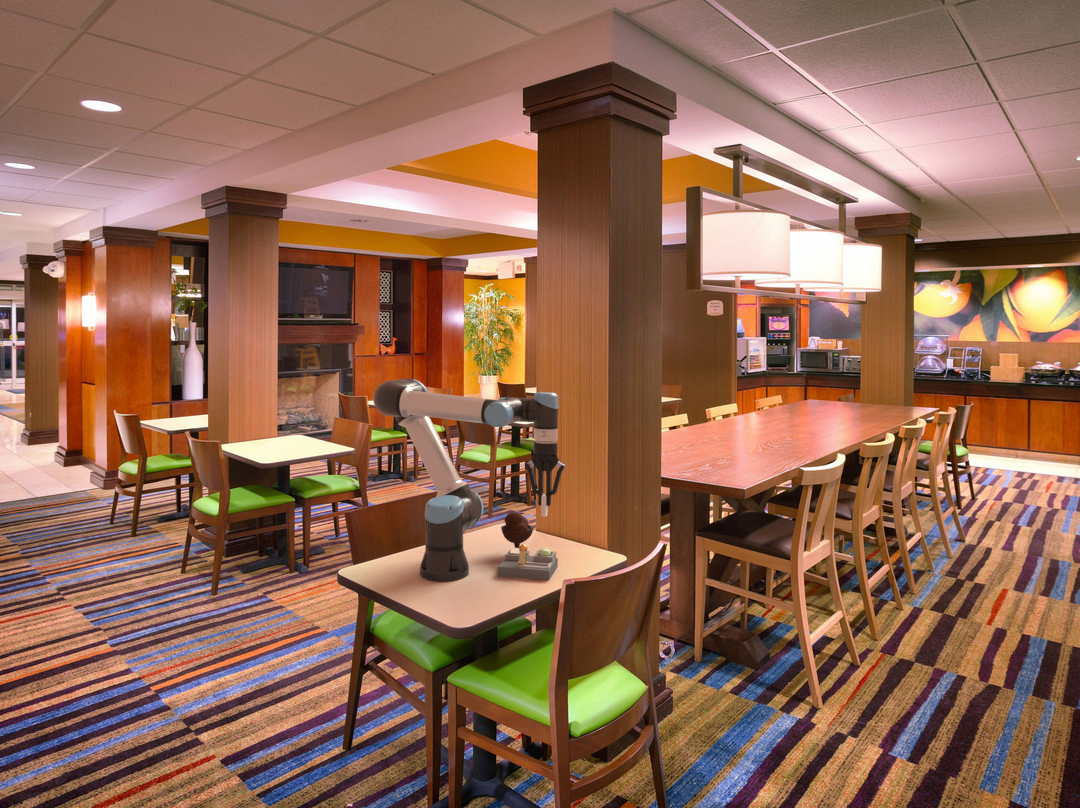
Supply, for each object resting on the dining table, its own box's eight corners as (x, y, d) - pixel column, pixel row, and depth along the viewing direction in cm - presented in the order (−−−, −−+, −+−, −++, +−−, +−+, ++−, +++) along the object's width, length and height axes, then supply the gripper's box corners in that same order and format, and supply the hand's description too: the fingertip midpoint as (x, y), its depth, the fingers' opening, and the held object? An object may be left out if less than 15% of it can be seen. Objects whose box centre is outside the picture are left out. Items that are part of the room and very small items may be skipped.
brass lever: (518, 564, 213) (518, 545, 213) (520, 562, 216) (520, 542, 215) (526, 565, 213) (526, 545, 212) (528, 563, 215) (528, 543, 215)
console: (498, 576, 213) (498, 560, 212) (509, 563, 226) (509, 548, 225) (549, 580, 209) (549, 564, 209) (557, 567, 222) (557, 551, 222)
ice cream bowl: (530, 560, 229) (530, 515, 227) (497, 558, 230) (497, 514, 229) (535, 551, 239) (535, 508, 238) (504, 549, 241) (504, 507, 240)
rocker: (509, 556, 220) (509, 552, 220) (512, 551, 223) (512, 547, 223) (522, 557, 220) (521, 553, 219) (524, 552, 222) (524, 548, 222)
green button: (538, 560, 218) (538, 551, 218) (540, 557, 222) (540, 548, 221) (549, 561, 217) (549, 552, 217) (551, 558, 221) (551, 548, 221)
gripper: (522, 442, 214) (521, 517, 216) (563, 444, 211) (562, 520, 213) (528, 439, 221) (527, 511, 223) (568, 441, 218) (566, 514, 221)
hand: (544, 515), depth 218 cm, fingers closed
